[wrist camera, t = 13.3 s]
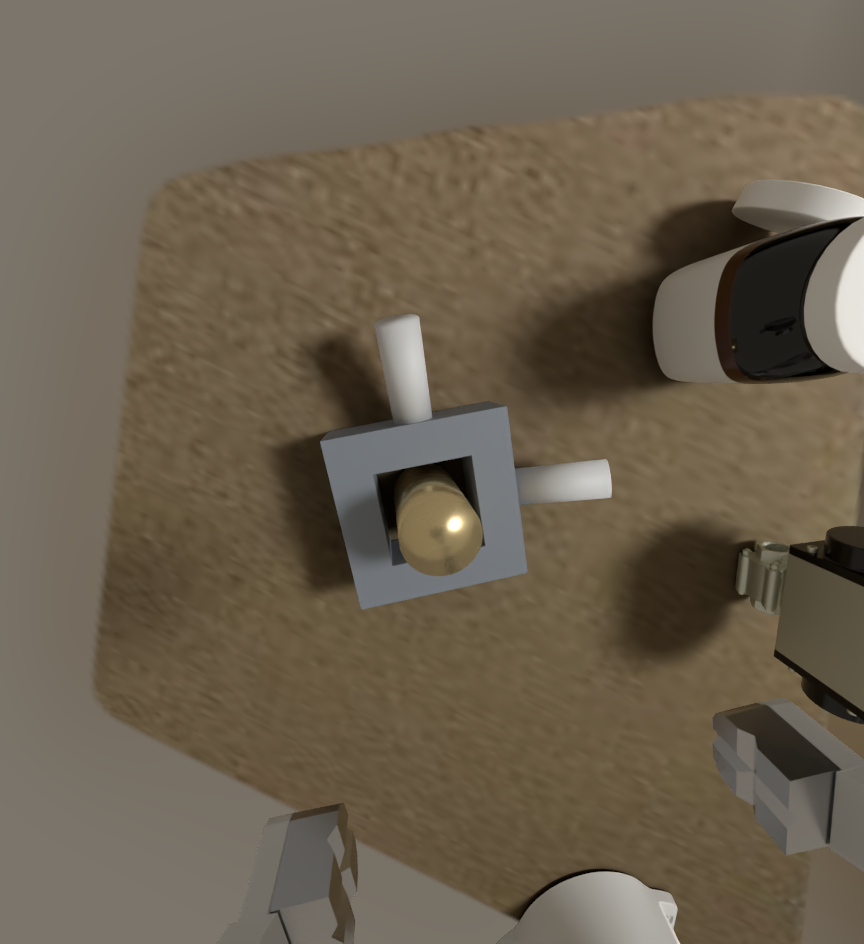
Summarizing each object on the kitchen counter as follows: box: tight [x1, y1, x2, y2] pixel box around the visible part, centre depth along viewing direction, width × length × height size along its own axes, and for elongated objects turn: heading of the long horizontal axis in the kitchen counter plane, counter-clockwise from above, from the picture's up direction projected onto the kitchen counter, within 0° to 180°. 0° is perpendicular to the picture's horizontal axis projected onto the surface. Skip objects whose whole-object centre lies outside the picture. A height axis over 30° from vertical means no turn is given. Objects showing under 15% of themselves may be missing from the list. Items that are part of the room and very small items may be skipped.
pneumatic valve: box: [735, 526, 864, 724], centre depth 28 cm, size 6×12×12 cm, turn 4°
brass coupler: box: [394, 463, 483, 576], centre depth 25 cm, size 4×4×8 cm
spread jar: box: [651, 180, 864, 384], centre depth 23 cm, size 12×11×12 cm
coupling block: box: [320, 314, 612, 610], centre depth 26 cm, size 17×17×6 cm
